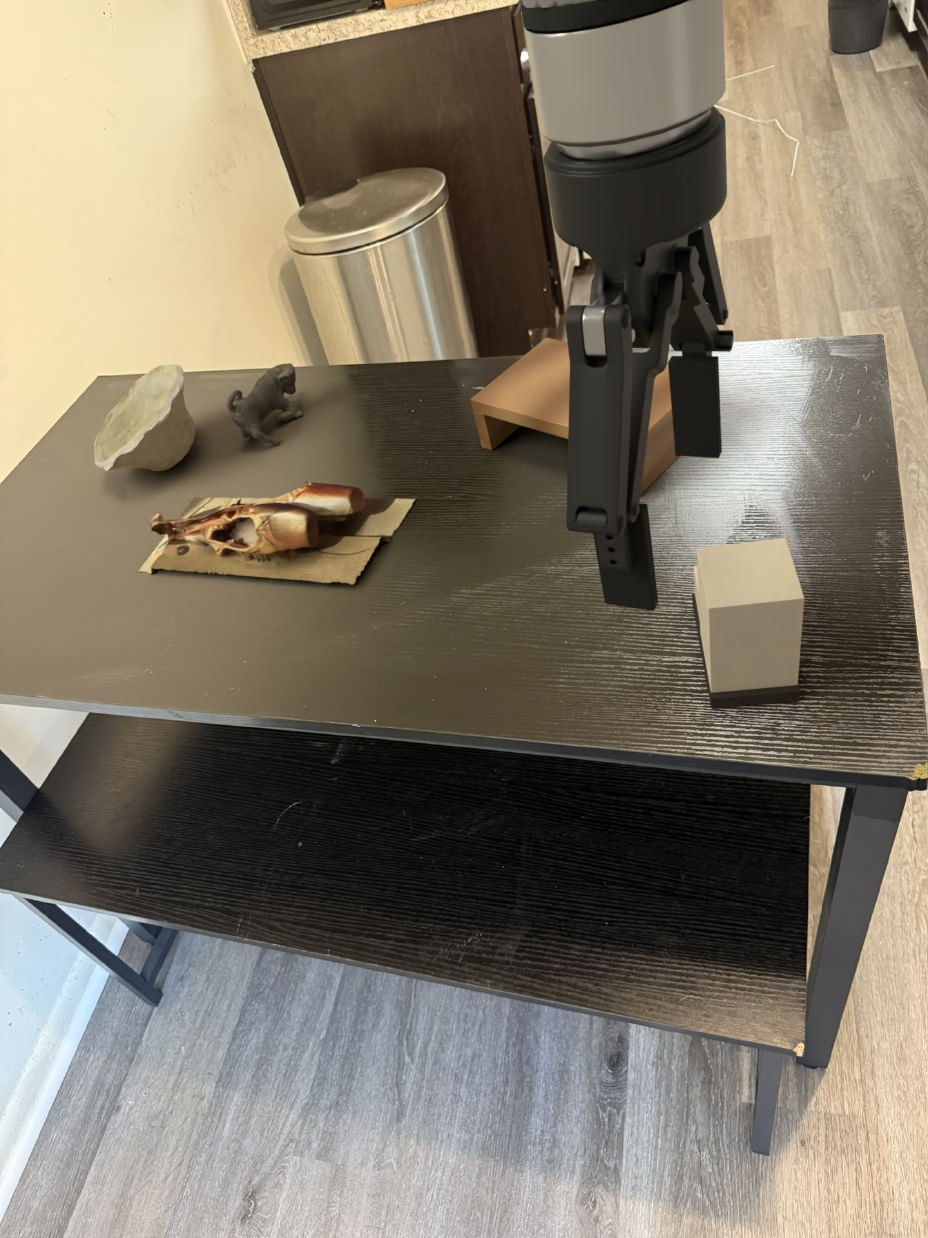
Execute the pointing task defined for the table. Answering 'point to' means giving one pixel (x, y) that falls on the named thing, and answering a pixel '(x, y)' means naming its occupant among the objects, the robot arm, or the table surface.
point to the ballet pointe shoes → (279, 534)
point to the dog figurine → (265, 402)
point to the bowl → (147, 424)
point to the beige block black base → (749, 622)
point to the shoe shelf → (561, 405)
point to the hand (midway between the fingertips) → (667, 522)
